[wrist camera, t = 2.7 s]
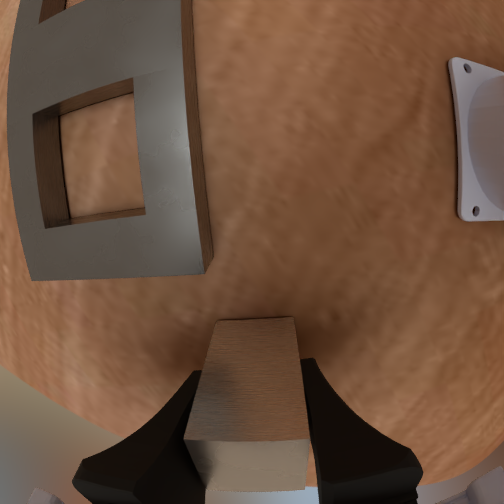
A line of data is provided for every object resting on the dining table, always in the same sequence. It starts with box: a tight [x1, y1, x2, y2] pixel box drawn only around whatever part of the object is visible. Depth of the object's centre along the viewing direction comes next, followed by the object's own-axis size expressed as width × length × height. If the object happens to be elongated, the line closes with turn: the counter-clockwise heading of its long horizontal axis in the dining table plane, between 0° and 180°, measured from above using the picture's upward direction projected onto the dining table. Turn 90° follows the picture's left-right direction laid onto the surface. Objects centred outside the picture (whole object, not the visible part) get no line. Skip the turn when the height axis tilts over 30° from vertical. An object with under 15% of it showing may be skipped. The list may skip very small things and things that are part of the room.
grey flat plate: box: [7, 0, 214, 281], centre depth 9 cm, size 9×20×2 cm, turn 5°
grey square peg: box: [184, 317, 310, 492], centre depth 11 cm, size 4×4×7 cm
